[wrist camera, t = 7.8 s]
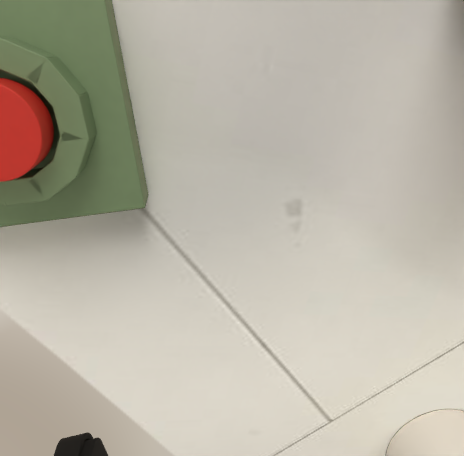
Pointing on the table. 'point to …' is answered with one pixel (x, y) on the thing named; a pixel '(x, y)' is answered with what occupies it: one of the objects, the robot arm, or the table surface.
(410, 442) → the mug
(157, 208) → the table surface
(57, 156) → the button box
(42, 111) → the button
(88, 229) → the table surface
